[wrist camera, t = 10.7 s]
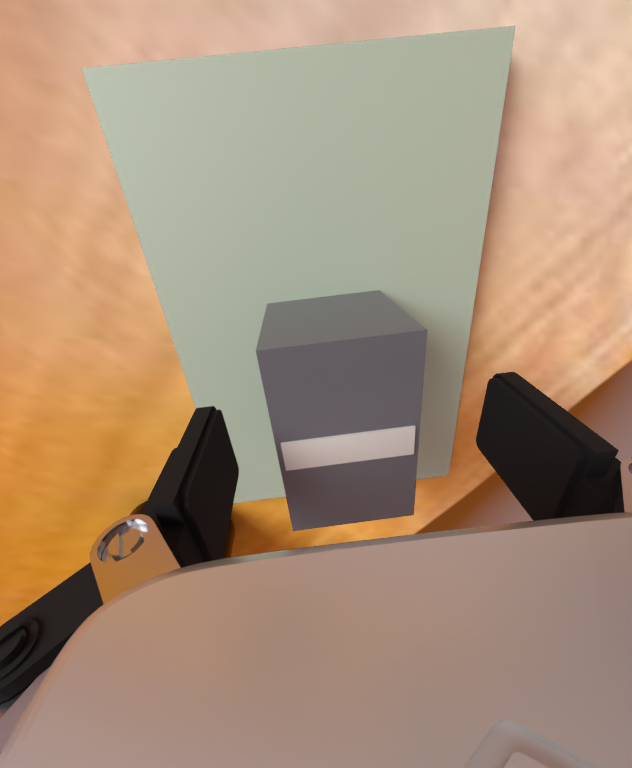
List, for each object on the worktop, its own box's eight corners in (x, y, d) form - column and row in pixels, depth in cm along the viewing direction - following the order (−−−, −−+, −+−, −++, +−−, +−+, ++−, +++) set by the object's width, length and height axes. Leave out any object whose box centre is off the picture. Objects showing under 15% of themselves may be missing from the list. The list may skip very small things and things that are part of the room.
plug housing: (379, 290, 14) (428, 331, 9) (379, 433, 18) (414, 516, 13) (267, 303, 14) (255, 351, 9) (292, 444, 18) (293, 533, 13)
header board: (494, 43, 11) (617, -60, 7) (440, 462, 21) (479, 525, 17) (101, 82, 11) (-17, -1, 7) (231, 489, 20) (216, 560, 16)
